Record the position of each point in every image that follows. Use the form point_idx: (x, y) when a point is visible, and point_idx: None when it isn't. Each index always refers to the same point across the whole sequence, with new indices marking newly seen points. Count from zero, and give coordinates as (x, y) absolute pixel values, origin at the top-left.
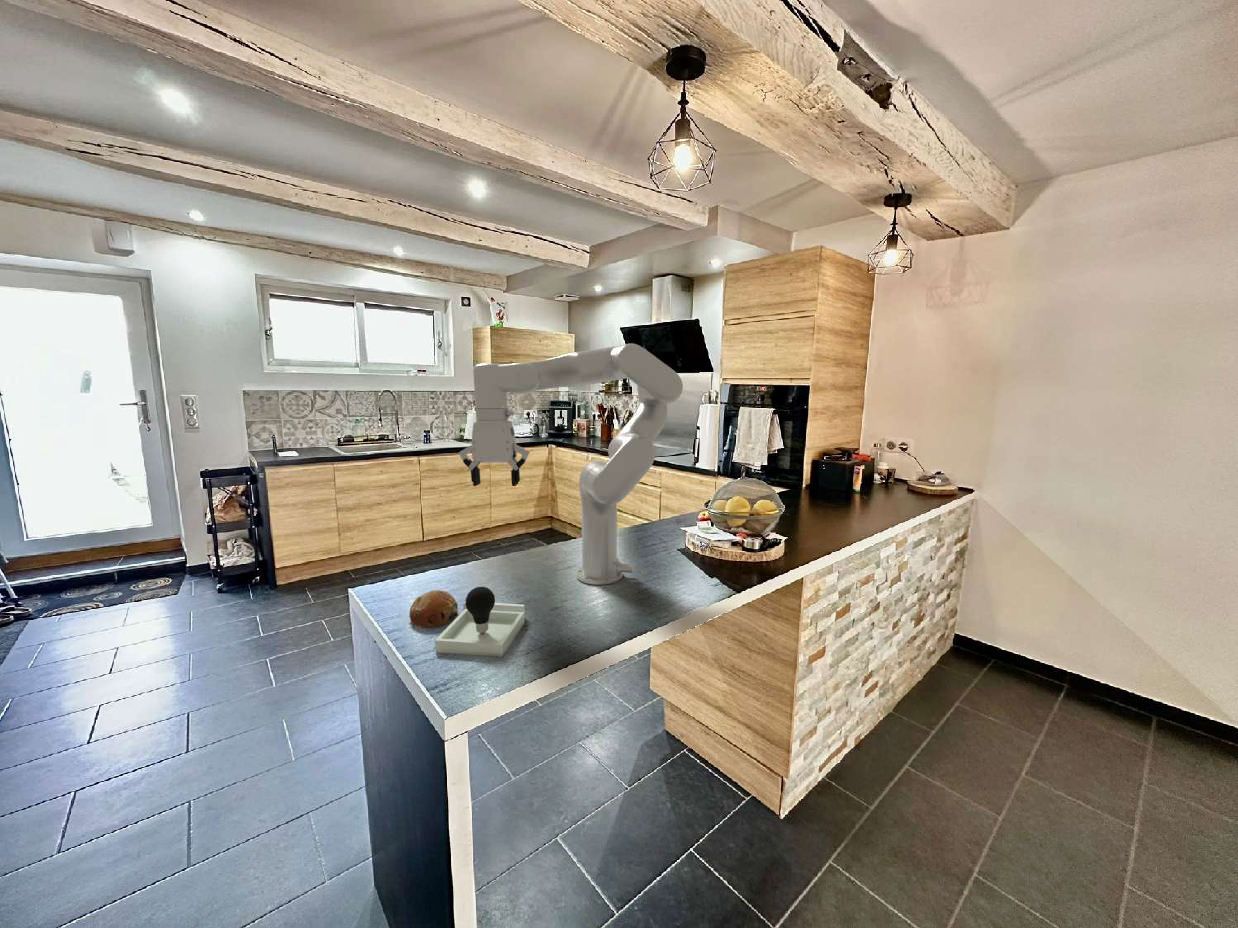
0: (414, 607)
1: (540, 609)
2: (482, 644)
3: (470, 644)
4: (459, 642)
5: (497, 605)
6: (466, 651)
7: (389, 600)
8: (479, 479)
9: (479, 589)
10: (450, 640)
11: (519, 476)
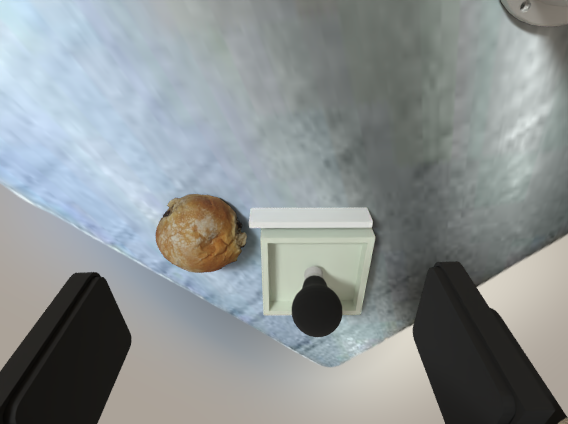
0: (176, 265)
1: (393, 175)
2: None
3: None
4: None
5: (319, 227)
6: None
7: (57, 174)
8: (89, 317)
9: (320, 334)
10: (285, 313)
11: (513, 342)
